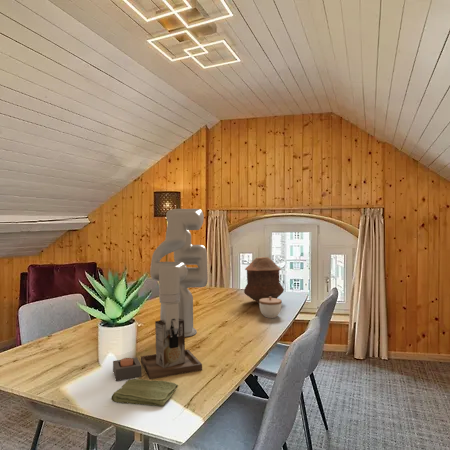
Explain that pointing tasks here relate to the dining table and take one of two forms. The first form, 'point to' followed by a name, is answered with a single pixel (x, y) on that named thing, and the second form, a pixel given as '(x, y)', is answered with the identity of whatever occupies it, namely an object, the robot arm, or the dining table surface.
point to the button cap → (126, 362)
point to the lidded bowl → (270, 307)
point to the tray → (158, 371)
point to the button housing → (127, 370)
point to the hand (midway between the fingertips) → (170, 343)
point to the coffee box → (163, 352)
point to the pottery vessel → (263, 279)
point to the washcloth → (144, 392)
